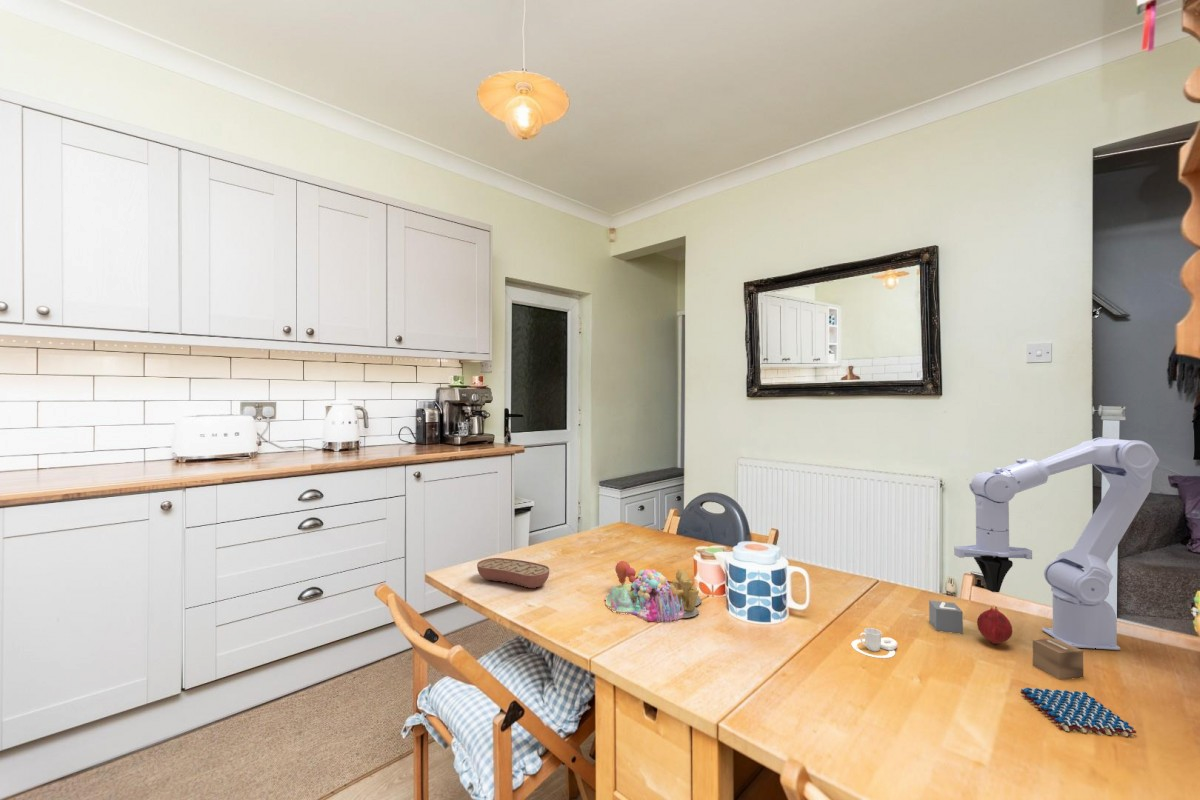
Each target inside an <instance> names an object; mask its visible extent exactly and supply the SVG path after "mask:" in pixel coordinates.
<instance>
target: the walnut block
mask: <svg viewBox="0 0 1200 800" xmlns="http://www.w3.org/2000/svg"><path fill="white" fill-rule="evenodd" d="M1032 666H1033V667H1035V668H1037V669H1039V670H1040V671H1043V672H1045V673H1046V674H1048V675H1050V676H1051V677H1053V678H1056V679H1058V680H1060V681H1061V680H1072V678H1074V679H1081V678H1080V677H1083V678H1084V650H1081V648H1077V647H1073V646H1071V645H1069V644H1067V643H1065V642H1062V641H1060V640H1058V639H1056V638H1054V637H1052V638H1043V639H1032Z"/></svg>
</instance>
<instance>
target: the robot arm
mask: <svg viewBox="0 0 1200 800" xmlns="http://www.w3.org/2000/svg"><path fill="white" fill-rule="evenodd" d="M1159 463H1160V459H1159V457H1158V455H1157V453H1156V452H1155V449H1154V448H1153V447H1152V445H1151V444H1149V443H1147V442H1145V441H1143V440H1135V439H1134V440H1130V439H1129V440H1128V439H1116V438H1110V437H1104V436H1100V437H1096V438H1092V439H1090V440H1084V441H1082V442H1080V444H1078V445H1075V446H1073V447H1070V448H1068V449H1065V450H1063V451H1061V452H1059V453H1056V454H1053V455H1051V456H1049V457H1046V458H1043V459H1040V460H1039V461H1037V460H1036V459H1033V458H1027V459H1026V458H1025V457H1024V458H1023V457H1021V458H1018V459H1015V462H1014V463H1012V464H1010V465H1006V466H1004V467H998V466H997V467H995V468H993V471H992V472H987V471H983V472H979V473H977V474H976V475H974V476H973V477H972V479H971V482H970V483H968V487H969V489H970V491H971V493H972V494H973V495H974V498H975V500H974V501H975V542H976V543H975V544H972V545H963V546H961V545H960V546H954V547H953V549H954V553H953V554H954V556H956V557H958V558H960V559H961V558H962V559H963V558H973V559H974V561H975V562H976V564H977V566H978V568H979V570H980V571H981V575H982V576H983V579H984V583H985V585H986V586H985V587H986V589H987V590H988V591H990V592H991V593H1000V591H1001V589H1002V585H1003V582H1004V579H1005V578H1006V575H1007V574H1008V572H1009V571H1010V570H1011V568H1012V567H1013V565H1014V562H1013V561H1012V560H1010V559H1025V560H1033V550H1032V549H1029V548H1027V547H1015V546H1010V511H1009V510H1010V507H1009V502H1010V501H1011V500H1012V499H1014V497H1015V495H1016V494H1018V493H1021V492H1024V491H1027V490H1029V489H1032V488H1035V487H1039V486H1041V485H1043V484H1046V483H1047V482H1048V480H1049V476H1051V475H1056V474H1058V473H1062V472H1065V471H1069V470H1073V469H1076V468H1080V467H1083V466H1086V465H1091V464H1092V465H1093V466H1094V467H1095V469H1097V470H1098V471H1099V472H1100V473H1101V474H1102V475H1103V476H1104V477H1105V479H1106V480H1107V482H1108V483H1109V488H1108V490H1106V492H1105V494H1104V496H1103V498H1102V500H1101V501H1100V502H1099V504H1098V506H1097V507H1096V508H1095V511H1094V512H1093V514H1092V516H1091V517H1090V519H1089V521H1088V523H1087V524H1086V526H1085V527H1084V529H1083V531H1082V533H1081V534H1080V536H1079V538H1078V539H1077V541H1076V543H1075V544H1074V546H1073V547H1072V548H1071V549H1069V550H1065V551H1062V552H1060V553H1059V554H1058V556H1057V557H1056V558H1055V559H1054V560H1053V561H1051V562H1049V563H1048V564H1047V565H1046V566H1045V568H1044V571H1043V576H1044V579H1045V581H1046V583H1047V584H1048V585H1050V587H1051V588H1050V589H1051V590H1050V591H1051V592H1052V627H1051V628H1050V627H1042V628H1041V630H1042V631H1043V632H1044V633H1046V634H1048V635H1049V636H1051V638H1056V639H1058V640H1060V641H1062V642H1065V643H1067V644H1069V645H1071V646H1073V647H1075V648H1078V649H1081V648H1082V649H1095V648H1096V649H1099V650H1113V651H1115V650H1116V651H1120V650H1121V647H1120V646H1119V645H1118V643H1117V642H1118V636H1117V635H1118V633H1117V632H1118V630H1117V628H1118V626H1117V625H1118V624H1117V623H1118V620H1117V614H1116V612H1115V609H1114V608H1113V607H1112V605H1111V604H1110V603H1109V602H1108V601H1106V599H1107V597H1108V596H1109V593H1110V584H1111V581H1112V579H1113V577H1114V576H1113V574H1112V572H1111V570H1110V569H1109V567H1108V565H1107V563H1108V562H1109V560H1110V558H1111V557H1112V556H1113V553H1114V551H1115V550H1116V548H1117V547H1118V545H1119V544H1120V542H1121V541H1122V539H1123V537H1124V535H1125V534H1126V532H1127V530H1128V528H1129V527H1130V525H1131V523H1132V521H1134V518H1135V517H1136V516H1137V514H1138V512H1139V510H1140V509H1141V507H1142V506H1143V504H1144V502H1145V500H1146V499H1147V497H1148V496H1149V494H1150V492H1151V490H1152V483H1153V472H1154V471H1155V469H1156V467H1157V466H1158V464H1159ZM1009 558H1010V559H1009Z"/></svg>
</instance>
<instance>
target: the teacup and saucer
mask: <svg viewBox="0 0 1200 800" xmlns="http://www.w3.org/2000/svg"><path fill="white" fill-rule="evenodd" d="M863 631H864V632H861V633H860V634H859V639H857V638H856V639H854V640H852V641H851V647H852V648H853V650H855V651H856V652H858V653H859V654H861V655H864V656H868V657H870V658H874V659H875V658H876V659H888V658H893V657H894V656H895V654H896V651H895V650H896V649H897V648H898V642H897V640H895V639H893V638H892V637H882V631H881V630H879V629H877V628H874V627H865V628H864V630H863ZM863 635H864V638H862V636H863ZM858 644H863V646H865V648H867V650H869V651H872V652H878V651H880V649H882V650H885V651H888V653H887V654H884V655H878V654H877V655H875V654H870V653H867V652H865V651H863V650H861V649H860V648H859V647H858Z"/></svg>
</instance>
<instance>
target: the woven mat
mask: <svg viewBox="0 0 1200 800" xmlns="http://www.w3.org/2000/svg"><path fill="white" fill-rule="evenodd" d="M1020 694H1022V696H1023V698H1024V699H1026V700H1028V701H1029V702H1030V703H1031V704H1032V705H1033V706H1034V707H1036V709H1037V710H1038V711H1040V712H1042V714H1044V715H1045V717H1047V718H1048V719H1050V721H1052V722H1053V723H1054V724H1056V725H1057V727H1058V728H1059V729H1061V730H1062V731H1064V732H1071V731H1072V732H1074V733H1078V731H1079V732H1080V733H1081V734H1086V733H1089V734H1093V733H1096V734H1097V735H1098V736H1105V734H1106V735H1107V736H1112V735H1113V736H1119V735H1118V734H1120V736H1121V737H1128V736H1129V737H1130V738H1135V737H1136V736H1135V735H1134V734H1137V730H1135V729H1134V727H1133V726H1131V725H1129V724H1130V723H1129V722H1128V721H1125V720H1123V719H1121V717H1120V716H1119V715H1118V714H1117V715H1116V714H1115V713H1114V712H1113V711H1112V710H1111V709H1110V708H1106V707H1105V706H1104V704H1103V703H1100V702H1098V701H1096V698H1094V697H1092V696H1090V695H1089V694H1088V692H1086V691H1084V692H1083V691H1082V692H1081V691H1077V690H1074V691H1072V690H1066V689H1065V690H1064V689H1054V690H1053V689H1048V688H1045V689H1044V688H1038V687H1036V688H1034V687H1033V688H1032V687H1029V686H1028V687H1025V688H1021V689H1020ZM1077 730H1078V731H1077ZM1093 731H1094V732H1093Z"/></svg>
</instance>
